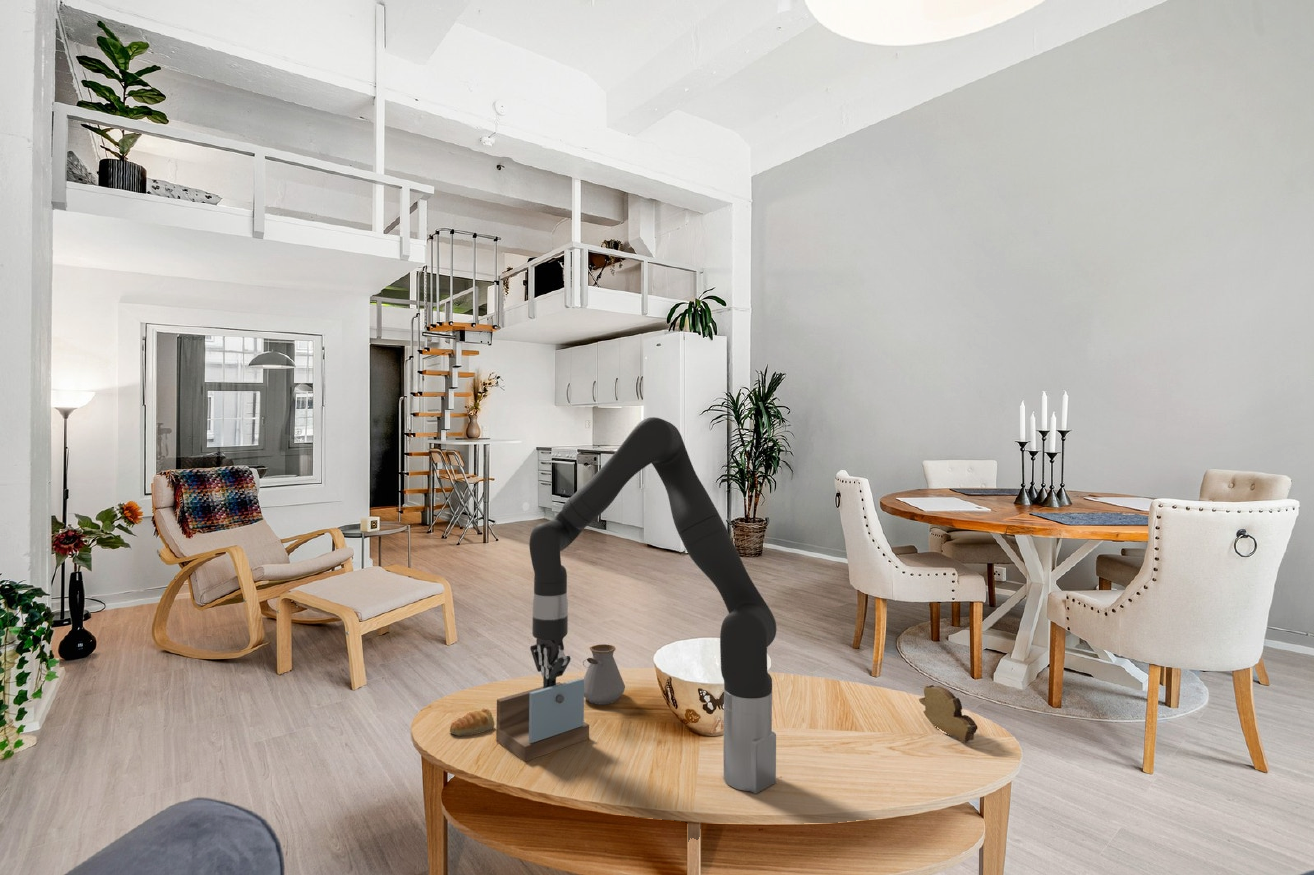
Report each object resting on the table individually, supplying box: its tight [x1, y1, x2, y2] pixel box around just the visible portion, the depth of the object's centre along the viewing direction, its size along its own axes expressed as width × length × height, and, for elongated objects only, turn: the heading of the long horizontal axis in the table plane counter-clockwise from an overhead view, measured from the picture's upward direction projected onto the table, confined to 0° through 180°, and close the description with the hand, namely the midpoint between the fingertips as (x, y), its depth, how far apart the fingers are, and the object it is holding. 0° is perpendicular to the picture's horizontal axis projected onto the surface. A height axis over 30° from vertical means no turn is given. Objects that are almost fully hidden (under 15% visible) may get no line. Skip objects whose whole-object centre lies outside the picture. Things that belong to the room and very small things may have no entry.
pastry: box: [449, 708, 495, 737], centre depth 145 cm, size 9×7×4 cm
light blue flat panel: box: [529, 677, 585, 743], centre depth 135 cm, size 2×13×10 cm, turn 132°
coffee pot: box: [582, 643, 626, 705], centre depth 158 cm, size 21×12×15 cm, turn 171°
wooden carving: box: [918, 684, 979, 743], centre depth 145 cm, size 16×5×10 cm, turn 20°
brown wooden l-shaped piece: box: [495, 681, 590, 762], centre depth 140 cm, size 12×16×9 cm
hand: (549, 694), depth 138 cm, fingers closed
